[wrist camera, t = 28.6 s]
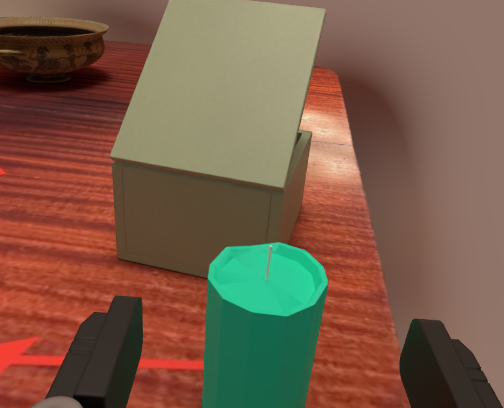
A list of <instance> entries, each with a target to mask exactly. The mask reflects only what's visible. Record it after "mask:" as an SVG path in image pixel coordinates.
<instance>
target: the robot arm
mask: <svg viewBox="0 0 504 408" xmlns="http://www.w3.org/2000/svg"><path fill="white" fill-rule="evenodd" d="M142 344H143V320H142V299H141V297H129V296H115V297H114V299H113V301H112V303H111V306H110V308H109V310H108V313H101V312H94V313H93V314H92V315H91V316H89V317H88V318H87V319H86V320H85V321H84V322H83V323H82V324H81V325H80V327H79V329H78V331H77V334H76V336H75V338H74V341H73V342H72V344H71V346H70V348H69V352H68V353H67V354H66V356H65V359H64V361H63V363H62V365H61V367H60V369H59V371H58V373H57V375H56V377H55V379H54V381H53V384H52V386H51V388H50V390H49V392H48V394H47V396H46V398H45V399H44V400H42V401H40V402H38V403H37V404H35V405H34V406H32V407H31V408H126V405H127V402H128V398H129V395H130V391H131V388H132V385H133V381H134V378H135V374H136V371H137V367H138V364H139V361H140V357H141V351H142ZM400 376H401V379H402V382H403V385H404V388H405V391H406V394H407V397H408V399H409V402H410V405H411V408H503V407H502V405H501V403H500V402H499V400H498V398H497V396H496V394H495V392H494V391H493V389H492V387H491V385H490V384H489V383H488V380H487V378H486V376H485V374H484V373H483V371H481V367H480V365H479V364H478V362H477V360H476V358H475V356H474V355H473V353H472V352H471V351H470V350H469V349H468V348H467V347H466V346H465V345H464V344H463V343H461V342H460V341H459V340H457V339H451V338H450V336H449V334H448V332H447V330H446V328H445V326H444V325H443V323H442V322H441V321H438V320H426V319H413V320H412V322H411V324H410V328H409V331H408V334H407V337H406V340H405V344H404V347H403V350H402V353H401V357H400Z"/></svg>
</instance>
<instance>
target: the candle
mask: <svg viewBox="0 0 504 408" xmlns="http://www.w3.org/2000/svg"><path fill="white" fill-rule="evenodd" d="M327 287H328V280H327V277H326V274H325V271H324V267H323V266H322V265H321V264H320V263H319V262H318V261H317V260H315V259H314V258H313V257H312V256H311V255H310V254H309V253H308V252H307V251H306V250H303V249H300V248H296V247H293V246H290V245H287V244H283V243H280V242H278V243H270V244H261V245H253V246H235V247H226V248H225V249H224V250H223V251H222V252H221V253H220V254H219V255H218V256H217V257H216V258H215V260H214V261H213V262H212V263H211V264H210V267H209V273H208V286H207V308H206V330H205V352H204V374H203V396H202V408H305V402H306V397H307V392H308V387H309V381H310V376H311V371H312V366H313V361H314V355H315V350H316V345H317V340H318V334H319V329H320V324H321V319H322V313H323V308H324V303H325V298H326V293H327Z"/></svg>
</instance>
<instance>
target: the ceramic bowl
mask: <svg viewBox="0 0 504 408" xmlns="http://www.w3.org/2000/svg"><path fill="white" fill-rule="evenodd" d="M108 29H109V27H108V26H107V25H105V24H103V23H98V22H93V21H87V20H79V19H70V18H51V17H44V18H43V17H2V18H0V66H1V67H4V68H7V69H10V70H14V71H18V72H23V73H29V74H30V75H28V76H27V77H26V79H27V80H28V81H32V82H38V83H56V82H64V81H67V80H70V79H71V76H70V75H68V74H66V73H68V72H72V71H76V70H79V69H82V68H85V67H87V66H89V65H91V64H93V63H94V62H96V61H97V60H98V59H99V58H100V57H101V56H102V54H103V52H104V41H103V38H102V35H103V34H104V33H106V32H107V30H108Z"/></svg>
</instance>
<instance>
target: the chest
mask: <svg viewBox="0 0 504 408" xmlns="http://www.w3.org/2000/svg"><path fill="white" fill-rule="evenodd" d="M311 137H312V132H310V131H303V130H299V131H298V135H297V140H296V144H295V148H294V152H293V157H292V161H291V165H290V169H289V173H288V178H287V182H286V186H285V190H284V192H280V191H275V190H269V189H264V188H258V187H253V186H247V185H242V184H237V183H231V182H226V181H220V180H215V179H209V178H204V177H198V176H193V175H187V174H182V173H176V172H171V171H165V170H160V169H154V168H149V167H143V166H138V165H132V164H127V163H121V162H115V163H113V164H112V176H113V192H114V208H115V225H116V241H117V258H119V259H123V260H128V261H132V262H137V263H141V264H146V265H150V266H155V267H159V268H164V269H168V270H173V271H177V272H182V273H186V274H191V275H195V276H200V277H204V278H208V273H209V267H210V264H211V263H212V262H213V261H214V260H215V258H216V257H217V256H218V255H219V254H220V253H221V252H222V251H223V250H224V249H225V248H226V247H235V246H253V245H261V244H270V243H278V242H280V243H283V244H287V245H288V244H289V241H290V238H291V235H292V232H293V230H294V227H295V224H296V221H297V218H298V216H299V213H300V210H301V206H302V199H303V192H304V185H305V178H306V171H307V164H308V158H309V151H310V144H311Z"/></svg>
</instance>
